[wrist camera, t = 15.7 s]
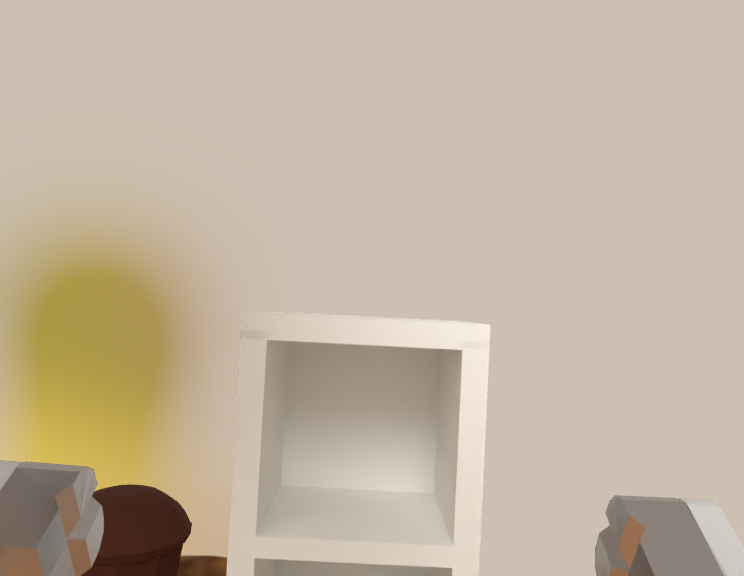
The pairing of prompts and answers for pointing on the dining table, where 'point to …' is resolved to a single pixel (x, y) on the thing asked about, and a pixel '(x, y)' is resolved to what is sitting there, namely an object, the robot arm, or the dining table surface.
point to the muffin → (139, 532)
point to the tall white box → (358, 446)
